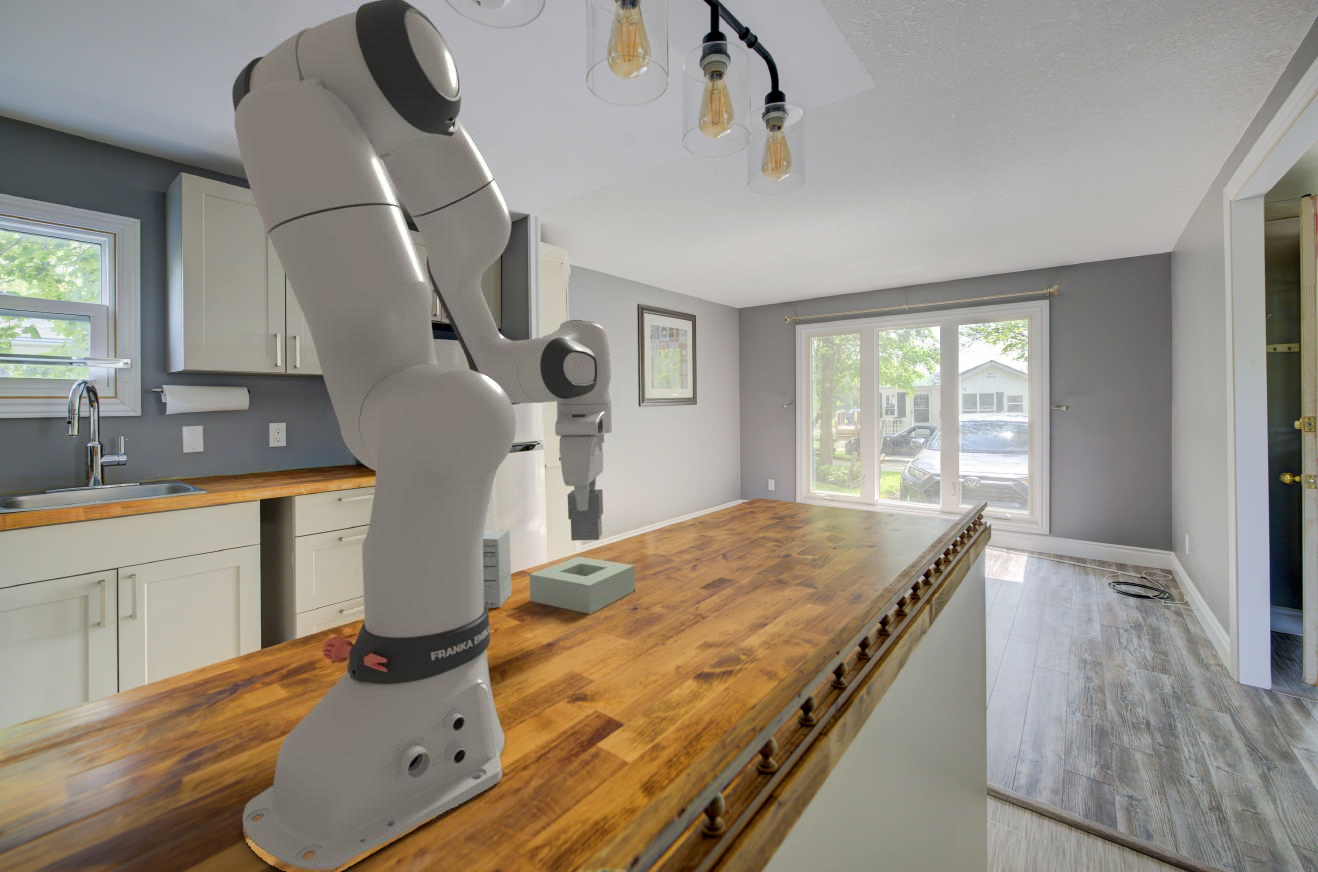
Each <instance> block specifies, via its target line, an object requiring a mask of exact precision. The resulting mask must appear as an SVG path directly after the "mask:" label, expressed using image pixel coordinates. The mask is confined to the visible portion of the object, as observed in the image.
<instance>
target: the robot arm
mask: <svg viewBox="0 0 1318 872" xmlns="http://www.w3.org/2000/svg"><path fill="white" fill-rule="evenodd" d="M440 32H441V31H439V29H438V28H437V27H436V25H435V24H434V23H433V22H432V21H431V19H430V18H429V17H428V15H426V14H424V13H423V12H422V11H420V10H419V9H418V8H416V7H415V6H414V5H412V4H410V3H409V2H408V1H405V0H374V1H371V2H365V3H363V4H362V5H360V6H359V7H358V9H357V10H356V11H353V12H350V13H346V14H344V15H340V16H338V17H335V18H332V19H330V20H328V21H325V22H323V23H320V24H318V25H316V26H314V27H306V28H304V29H302V30H301V31H298V32H297V33H295V34H293V35H292V36H290V37H288V38H287V39H286V40H284V41H282V42H281V43H280V44H279V43H278V45H276V46H275V47H274V48H273V49H271V50H270V51H269V52H268V53H266V54H265V55H264V56H258V57H256V58H253V59H252V60H251V61H250V62H249V63H248V64H246V66H245V67H243V68H242V70H241V71H240V72H239V74H238V75H237V77H236V78H235V80H234V83H233V86H232V91H231V92H232V95H231V96H232V104H233V108H234V113H235V114H234V121H233V123H234V129H235V134H236V139H237V144H238V148H239V152H240V156H241V160H242V164H243V167H244V171H245V175H246V178H247V182H248V184H249V187H250V188H249V189H250V191H251V194H252V197H253V200H254V203H255V205H256V208H257V210H258V213H259V216H260V218H261V220H262V223H263V225H264V227H265V230H266V233H267V234H268V236H269V239H270V242H271V244H272V245H273V248H274V250H275V252H276V255H277V257H278V260H279V261H280V263H281V268H283V271H284V273H285V275H286V277H287V280H288V282H289V285H290V287H291V289H292V291H293V295H294V297H295V298H296V300H297V303H298V305H299V307H300V310H301V312H302V313H303V316H304V320H305V321H306V324H307V326H308V330H309V332H310V334H311V339H312V341H313V345H314V347H315V351H316V354H317V355H316V356H317V358H318V363H319V366H320V369H321V372H322V377H323V380H324V383H325V387H326V389H327V392H328V395H329V399H330V401H331V405H332V407H333V410H334V413H335V416H336V419H337V421H338V422H337V423H338V424H339V428H340V434H341V436H342V438H343V442H344V443H345V445H346V446H347V449H348V450H349V451H350V452H351V454H352V455H353V457H354V458H356V460H358V461H359V462H360V463H361V464H363V466H366V467H367V468H369V469H370V470H373V471H375V484H374V492H373V500H372V507H371V514H370V518H369V524H368V529H367V532H366V535H365V537H364V539H363V542H362V547H361V555H362V557H361V559H362V581H363V582H362V583H363V608H364V612H363V613H364V623H362V625H361V626H360V629H359V631H358V635H357V636H356V639H355V642H354V643H353V641H352V640H349V639H344V638H343V637H340V636H332V637H330V638H329V639H326V641H325V644H324V645H323V646H322V650H321V652H322V653H323V655H322V656H323V657H325V659H328V660H331V661H334V662H336V663H344V662H346V661H348V663H347V667H346V669H347V671H346V672H345V673H344V675H342V676H341V678H340V679H338V680H337V682H336V683H335V684H334V685H333V686H332V687H331V688H330V689H329V691H328V692H326V694H324V696H323V697H322V699H321V700H320V701H319V702H317V704H316V705H315V706H314V707H313V708H312V709H311V710H310V711H309V712H308V713H307V714H306V715H305V716H304V717H303V718H302V719H301V720H300V721H299V723H298V724H296V726H295V727H294V728H293V729H292V730H291V731H290V732H289V733H287V735H286V737H285V738H284V740H283V741H282V744H281V746H280V749H279V751H278V754H277V755H278V756H277V759H276V762H275V764H276V765H275V770H274V776H273V785H271V786H270V787H268V788H266V789H264V790H263V791H262V792H261V793H259V794H258V795H255V796H254V797H253V798H252V799H250V800H249V801H248V802H246V805H245V807H244V809H243V814H242V820H243V821H242V822H243V827H244V830H245V832H246V834H247V836H248V837H249V839H250V840H252V842H254V843H255V845H257V846H259V847H260V848H261V849H263V850H265V851H266V852H267V853H268V854H271V855H272V856H274V857H276V858H278V859H279V860H281V861H283V862H285V863H286V864H287V863H288V864H290V865H293V866H296V867H300V868H305V869H310V870H334V869H335V868H336V867H339V866H341V865H342V864H345V863H347V862H348V861H349V860H350V859H352V858H355V857H356V856H357V855H360V854H361V853H364V852H366V851H368V850H370V849H373V848H374V847H376V846H379V845H382V844H383V843H385V842H387V841H390V840H391V839H393V838H395V837H398V836H400V835H402V834H403V833H406V832H407V831H409V830H410V829H411V828H414V827H416V826H417V825H419V824H421V823H422V822H425V820H428V819H431V818H432V817H433V818H434V816H437V815H439V814H442V813H443V812H445V811H447V810H449V809H451V808H453V809H455V808H456V807H458V806H459V804H460V805H461V804H463V803H464V802H467V801H468V800H470V799H472V798H473V797H475V796H478V794H481V793H483V792H484V791H486V790H488V789H489V788H492V787H493V786H495V785H496V784H498V783H499V782H500V781H501V779H502V777H503V770H502V769H503V768H502V762H501V758H500V757H501V754H502V752H503V749H504V745H505V733H504V730H503V728H502V726H501V723H500V720H499V716H498V713H497V710H496V706H495V699H494V697H493V689H492V686H491V678H490V671H489V661H488V652H487V649H488V647H489V645H490V643H491V638H490V637H491V636H490V629H491V628H490V619H489V617H490V615H489V608H487V607H486V606H485V605H484V581H483V535H484V530H485V525H486V520H487V519H486V518H487V512H488V508H489V504H490V500H491V499H490V498H491V494H492V490H493V485H494V481H495V477H496V474H497V471H498V469H499V467H500V465H502V463H503V462H504V460H505V459H506V457H508V454H509V453H510V451H511V449H512V447H513V444H514V440H515V437H516V430H517V421H516V420H517V419H516V413H515V409H514V406H515V405H520V404H534V403H535V404H538V403H539V404H541V403H549V402H551V403H552V402H553V403H554V402H556V421H555V424H554V425H555V427H554V431H555V435H556V436H558V437H559V452H560V453H559V454H560V455H559V456H560V466H561V474H562V478H563V479H562V480H563V483H564V485H565V486H566V487H573V488H574V489H573V490H574V491H575V495H576V500H577V510H579V511H586V510H588V508H589V496H588V489H589V488H590V490H596V487H597V485H596V484H597V477H598V476H599V475H601V474H602V473H603V471H604V470H603V469H604V449H603V444H604V443H605V434H610V433H612V432H613V431H612V429H613V428H612V427H613V426H612V400H611V397H610V392H609V390H610V388H609V387H610V382H611V376H612V375H611V374H612V373H611V357H610V356H611V354H610V345H609V341H608V336H607V333H606V330H605V329H604V327H603V326H601V325H599V324H598V323H595V322H593V321H587V320H582V319H571V320H570V319H569V320H566V321H563V322H561V324H560V325H559V328H558V329H556V330H555V331H553V332H552V333H549V334H546V335H543V336H542V337H536V338H535V337H534V338H530V339H521V340H512V339H509V338H507V337H505V336H503V334H501V333H500V331H499V329H498V327H497V324H496V322H495V320H494V317H493V315H492V312H491V310H490V308H489V306H488V304H487V301H486V299H485V296H484V294H483V291H482V284H481V283H482V277H483V275H484V272H486V271H487V269H489V268H490V267H491V266H492V265H493V264H494V263H495V262H496V261H497V260H498V259H499V258H500V257H501V255H502V254H503V253H504V251H505V249H507V248H506V247H507V246H508V243H509V240H510V237H511V232H512V219H511V215H510V214H511V213H510V211H509V208H508V207H509V206H508V205H507V203H506V199H505V197H504V196H503V194H502V191H501V190H500V188H499V185H498V184H497V182H496V180H495V178H494V176H493V174H492V172H491V170H490V168H489V166H488V164H487V162H486V161H485V159H484V157H483V155H482V153H481V151H480V149H478V147H477V146H476V143H475V142H474V140H473V139H472V137H471V135H470V133H469V132H468V131H467V130H466V128H465V126H464V125H463V123H462V122H461V121H460V119H459V114H460V111H461V104H462V83H461V77H460V74H459V69H458V66H457V64H456V61H455V58H454V56H453V54H452V51H451V50H450V47H449V46H448V44H447V42H446V40H445V39H444V37H443V35H442V33H440ZM381 161H382V162H381ZM382 163H383V164H384V166H385V168H384V166H383V164H382ZM385 169H386V170H385ZM387 174H388V175H387ZM388 176H389V177H388ZM389 178H390V179H389ZM390 180H391V181H390ZM391 182H392V184H393V186H392V184H391ZM393 187H394V188H395V190H396V192H397V194H398V196H399V198H400V200H401V201H402V203H403V205H404V206H405V209H406V210H407V212H408V215H410V216H411V219H412V221H413V222H414V224H415V226H416V228H417V230H418V232H419V233H420V236H421V238H422V242H423V243H424V246H425V250H426V255H427V257H426V270H427V274H428V277H429V280H430V282H431V284H430V282H429V280H428V277H427V274H426V271H425V269H424V266H423V263H422V261H421V258H420V255H419V253H418V251H417V248H416V245H415V242H414V239H413V237H412V234H411V232H410V229H409V226H408V224H407V221H406V218H405V216H404V214H403V210H402V208H401V206H400V202H399V201H398V198H397V196H396V193H395V191H394V188H393ZM431 285H432V287H433V290H434V292H435V294H436V296H437V299H438V301H439V304H440V305H441V307H442V309H443V311H444V313H445V316H446V318H447V319H448V320H447V321H448V322H449V323H450V326H451V328H452V330H453V331H454V334H455V336H456V338H457V340H458V342H459V344H460V346H461V349H462V351H463V353H464V355H465V356H464V357H465V358H466V361H467V363H468V367H469V368H465V367H463V366H458V365H455V364H449V363H439V362H438V359H437V352H436V346H435V340H434V334H433V327H432V326H433V325H432V306H433V293H432V287H431ZM513 405H514V406H513ZM494 784H495V785H494ZM454 807H455V808H454ZM451 810H452V809H451ZM449 811H450V810H449ZM260 815H263V817H262V818H261V819H259V820H256V821H252V819H253V818H254V817H256V816H260ZM442 815H443V814H442ZM242 822H241V823H242ZM308 853H315V854H314V856H312V857H311V858H309V859H302V858H303V856H304V855H306V854H308Z"/></svg>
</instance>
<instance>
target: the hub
mask: <svg viewBox="0 0 1318 872" xmlns="http://www.w3.org/2000/svg"><path fill="white" fill-rule="evenodd" d="M528 577H529V601H530V602H533V603H538V604H541V605H547V606H553V607H556V608H561V609H566V610H571V611H575V612H579V613H584V614H588V615H591V614H593V613H596V612H597V611H600V610H601V609H603V608H605V607H607V606H609V605H611V604H613V603H614V602H617V601H619V600H620V598H621V599H623V598H625V597H626V596H628V595H630V594H632V593H633V592H632V591H634V590H635V591H636V567H635V565H634V564H627V563H622V562H615V561H609V560H604V559H603V560H602V559H596V558H588V557H582V556H576V557H574V558H571V559H568V560H565V561H561V562H560V563H556V564H554V565H551V566H549V567H545V568H542V569H540V570H537V571H534V572H532V573H529V576H528ZM635 591H634V592H635ZM631 592H632V593H631ZM629 593H630V594H629ZM627 594H628V595H627ZM625 595H626V596H625ZM622 597H623V598H622ZM618 599H619V600H618ZM616 600H617V601H616Z"/></svg>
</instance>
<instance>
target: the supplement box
mask: <svg viewBox="0 0 1318 872" xmlns="http://www.w3.org/2000/svg"><path fill="white" fill-rule="evenodd" d="M510 536H511V535H510V530H506V529H502V530H501V529H488V530H487V529H486V530H485V529H484V535H483V581H484V605H485V606H486V607H487V608H488V609H499V608H501V607H502V606H503V604H504V603H505V602H506V601H507V600H508V599H509V598H510V597H511V596H512V569H511V567H512V566H511V543H510V542H511V541H510V538H511V537H510ZM497 607H498V608H497Z"/></svg>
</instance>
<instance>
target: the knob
mask: <svg viewBox="0 0 1318 872" xmlns="http://www.w3.org/2000/svg"><path fill="white" fill-rule="evenodd" d="M588 496H589V508H588V510H586V511H579V510H577V500H576V495H575V491H574V489H573V490H571V491H570V492H569V493H568V494H567V515H568V517H567V518H568V520H570V532H571V533H570V535H571V538H570V539H571V540H570V541H599V540H600V539H601V537H602V533H603V527H602V525H603V523H602V516H603V514H604V501H603V500H604V499H603V488H602V489H598V488H597V489H596V488H595V490H590V488H589V489H588Z"/></svg>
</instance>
